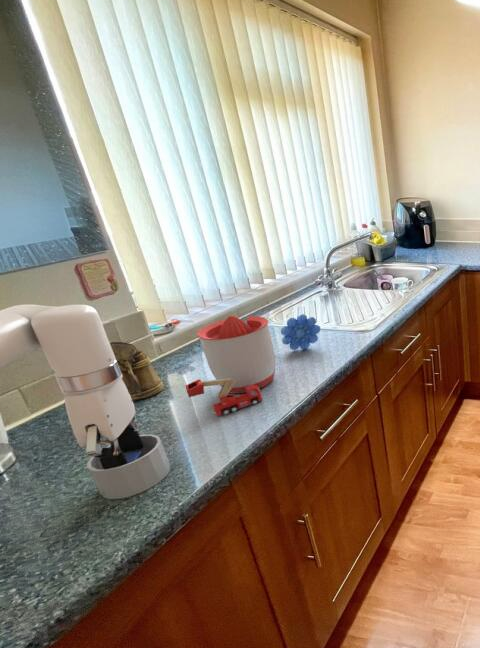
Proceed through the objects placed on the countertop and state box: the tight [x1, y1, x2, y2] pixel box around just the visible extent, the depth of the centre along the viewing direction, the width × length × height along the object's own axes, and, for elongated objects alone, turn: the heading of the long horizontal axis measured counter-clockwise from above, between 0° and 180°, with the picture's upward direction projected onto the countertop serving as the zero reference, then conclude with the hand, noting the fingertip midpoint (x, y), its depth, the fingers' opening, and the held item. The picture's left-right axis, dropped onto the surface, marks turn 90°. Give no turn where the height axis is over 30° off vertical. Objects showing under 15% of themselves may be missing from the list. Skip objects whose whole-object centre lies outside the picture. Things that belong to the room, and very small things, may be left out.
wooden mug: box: [109, 341, 165, 402], centre depth 102 cm, size 9×14×18 cm, turn 35°
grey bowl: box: [86, 434, 172, 500], centre depth 76 cm, size 10×10×6 cm
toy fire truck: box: [185, 378, 263, 417], centre depth 97 cm, size 3×14×10 cm, turn 134°
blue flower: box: [280, 313, 321, 351], centre depth 130 cm, size 12×7×12 cm, turn 109°
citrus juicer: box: [196, 315, 276, 394], centre depth 108 cm, size 16×17×20 cm
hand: (125, 459), depth 76 cm, fingers open, 5 cm apart
